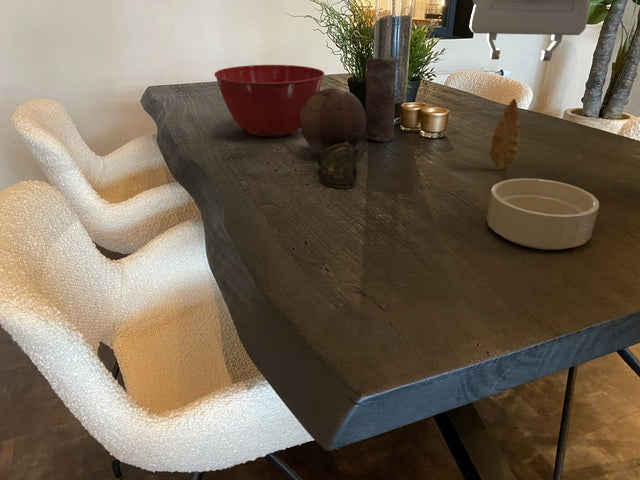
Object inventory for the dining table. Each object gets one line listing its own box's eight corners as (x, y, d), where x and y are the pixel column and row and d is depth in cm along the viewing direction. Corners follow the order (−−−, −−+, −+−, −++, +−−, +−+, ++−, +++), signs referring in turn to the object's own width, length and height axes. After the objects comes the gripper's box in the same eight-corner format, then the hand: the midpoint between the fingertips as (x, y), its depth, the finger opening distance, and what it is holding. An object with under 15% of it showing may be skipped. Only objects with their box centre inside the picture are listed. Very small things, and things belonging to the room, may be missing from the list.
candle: (359, 140, 124) (362, 57, 115) (369, 133, 130) (372, 54, 121) (388, 144, 121) (393, 59, 112) (397, 137, 127) (402, 55, 118)
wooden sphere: (374, 149, 118) (377, 85, 111) (348, 168, 106) (349, 97, 99) (319, 141, 124) (319, 80, 117) (289, 158, 112) (286, 91, 105)
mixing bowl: (332, 119, 144) (332, 64, 136) (314, 148, 119) (313, 82, 112) (240, 116, 148) (235, 62, 141) (204, 143, 123) (196, 79, 116)
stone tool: (488, 171, 104) (500, 99, 97) (487, 167, 106) (498, 96, 99) (513, 172, 103) (527, 99, 96) (511, 168, 105) (525, 97, 98)
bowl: (572, 213, 84) (581, 180, 82) (603, 256, 71) (614, 219, 68) (480, 208, 87) (485, 176, 84) (493, 249, 73) (500, 213, 70)
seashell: (366, 187, 95) (358, 153, 91) (321, 197, 96) (312, 164, 93) (361, 159, 109) (354, 129, 106) (322, 167, 110) (314, 138, 107)
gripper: (477, -23, 86) (465, 60, 92) (600, -22, 83) (580, 63, 90) (472, -22, 92) (462, 56, 98) (588, -22, 89) (570, 58, 95)
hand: (519, 59), depth 94 cm, fingers open, 8 cm apart
